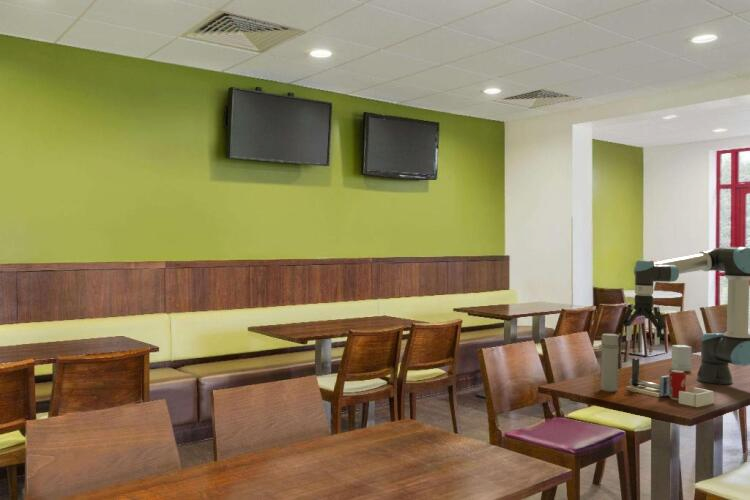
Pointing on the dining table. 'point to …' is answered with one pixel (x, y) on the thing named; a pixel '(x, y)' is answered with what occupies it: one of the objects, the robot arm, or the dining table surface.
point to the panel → (644, 390)
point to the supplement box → (681, 357)
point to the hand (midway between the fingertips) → (642, 342)
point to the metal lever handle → (636, 382)
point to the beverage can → (676, 383)
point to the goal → (696, 397)
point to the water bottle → (609, 362)
